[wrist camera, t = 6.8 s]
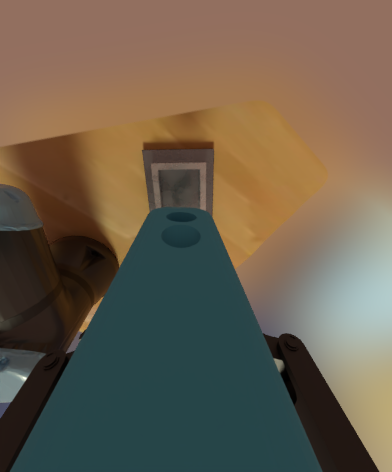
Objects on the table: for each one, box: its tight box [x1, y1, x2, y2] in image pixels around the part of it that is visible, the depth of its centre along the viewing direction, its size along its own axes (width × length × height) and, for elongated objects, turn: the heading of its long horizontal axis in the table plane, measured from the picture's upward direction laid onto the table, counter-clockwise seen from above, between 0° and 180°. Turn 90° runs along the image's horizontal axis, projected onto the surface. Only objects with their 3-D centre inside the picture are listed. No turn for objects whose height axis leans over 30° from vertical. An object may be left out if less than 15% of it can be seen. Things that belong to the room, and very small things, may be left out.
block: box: [10, 207, 323, 472], centre depth 13 cm, size 12×5×20 cm, turn 177°
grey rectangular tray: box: [142, 149, 214, 216], centre depth 35 cm, size 12×20×3 cm, turn 1°
